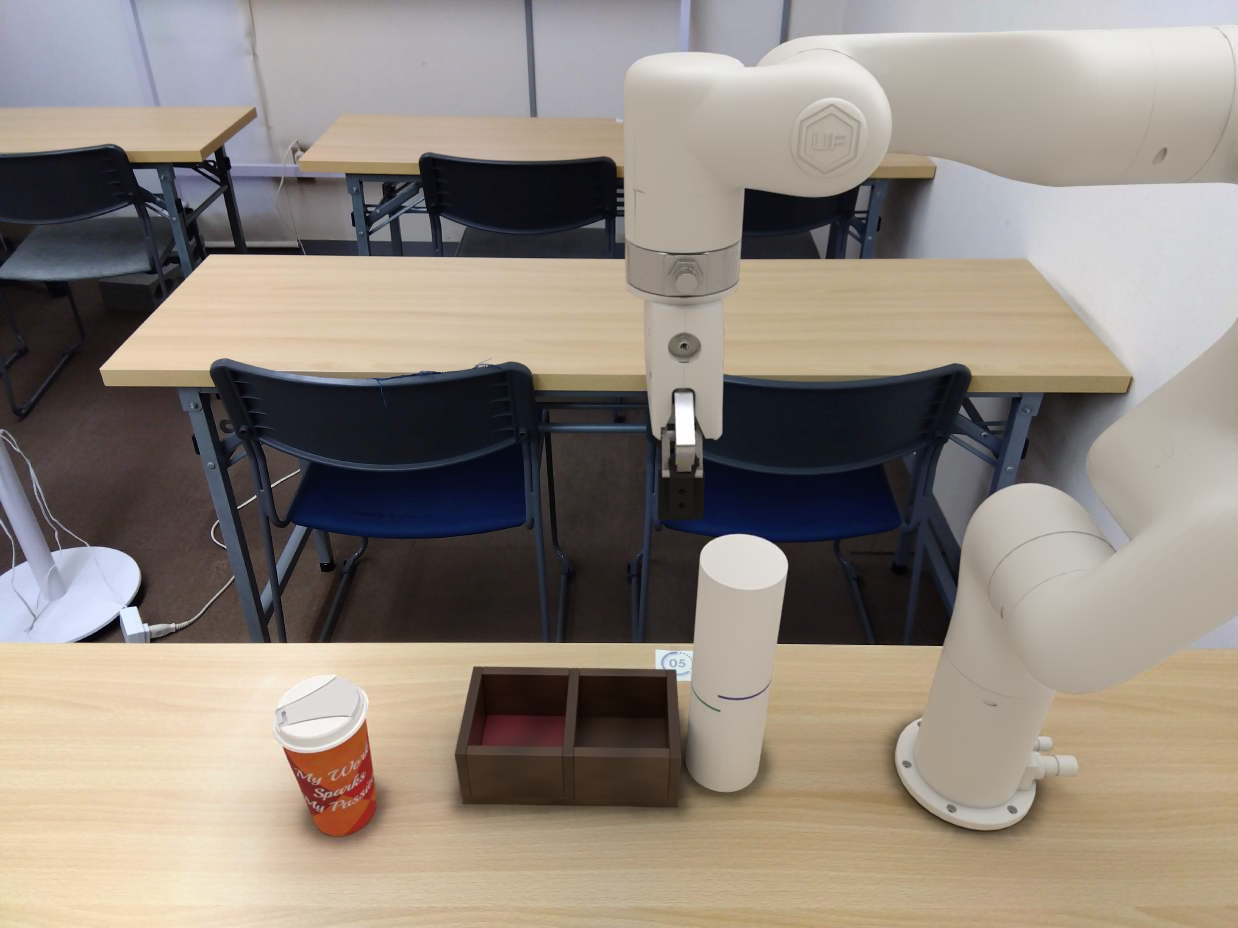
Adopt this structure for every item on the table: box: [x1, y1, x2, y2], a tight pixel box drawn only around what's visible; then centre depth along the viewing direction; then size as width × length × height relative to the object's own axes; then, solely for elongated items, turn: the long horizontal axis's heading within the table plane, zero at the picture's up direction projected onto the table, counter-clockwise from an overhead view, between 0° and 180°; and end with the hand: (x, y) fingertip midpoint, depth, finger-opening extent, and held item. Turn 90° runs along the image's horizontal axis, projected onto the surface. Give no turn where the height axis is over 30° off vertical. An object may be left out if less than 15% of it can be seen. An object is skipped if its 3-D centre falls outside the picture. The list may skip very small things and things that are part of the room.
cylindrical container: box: [684, 533, 789, 793], centre depth 76 cm, size 7×7×25 cm
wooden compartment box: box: [454, 665, 682, 808], centre depth 82 cm, size 20×10×7 cm, turn 89°
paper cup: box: [271, 674, 378, 837], centre depth 75 cm, size 8×8×14 cm
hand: (677, 479), depth 65 cm, fingers open, 9 cm apart
